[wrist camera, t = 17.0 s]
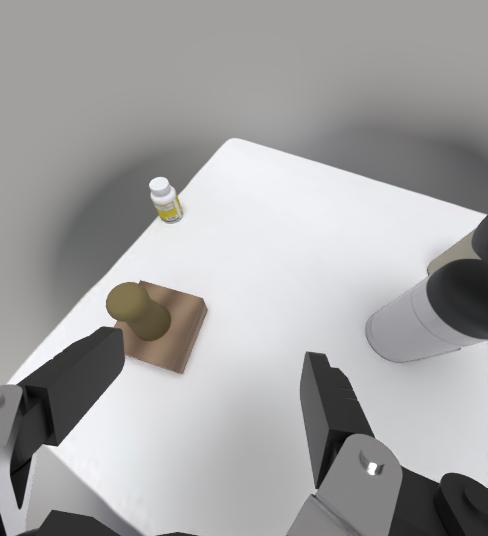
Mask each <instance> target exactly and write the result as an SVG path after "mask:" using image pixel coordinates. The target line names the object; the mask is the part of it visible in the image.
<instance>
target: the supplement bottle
mask: <svg viewBox="0 0 488 536" xmlns="http://www.w3.org/2000/svg"><path fill="white" fill-rule="evenodd" d="M149 186H150V189H151V191H152V192H151V198H152V201H153V203H154V205H155V207H156V209H157V211H158V213H159V215H160V217H161V219H162V220H163V221H164V222H166V223H175V222H177V221H179V220H180V219H181V217H182V215H183V211H182V208H181V206H180V203H179V200H178V197H177V194H176V191H175V189H174V188H173V187H172V186H170V184H169V182H168V180H167V179H166V178H163V177H158V178H155V179H153V180H152V181H151V182H150V184H149Z"/></svg>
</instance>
